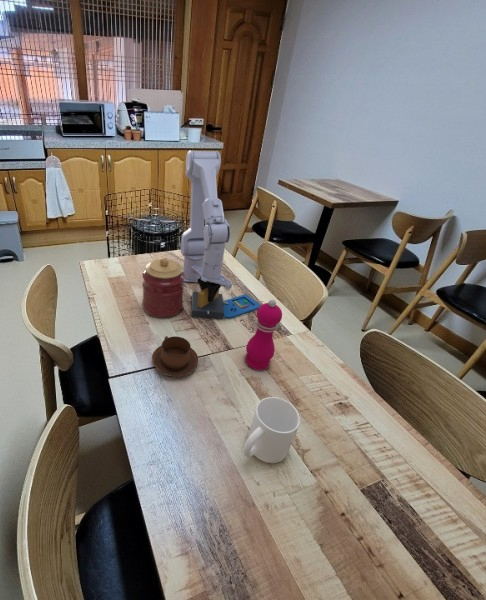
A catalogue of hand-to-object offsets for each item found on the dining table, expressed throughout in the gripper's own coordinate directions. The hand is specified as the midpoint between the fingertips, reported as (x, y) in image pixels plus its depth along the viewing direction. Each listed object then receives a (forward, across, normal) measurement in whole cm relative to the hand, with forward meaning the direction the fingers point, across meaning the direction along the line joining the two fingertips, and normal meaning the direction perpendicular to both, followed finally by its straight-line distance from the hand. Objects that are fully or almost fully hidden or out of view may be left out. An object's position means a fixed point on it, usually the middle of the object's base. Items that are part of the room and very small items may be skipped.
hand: (208, 299), depth 109 cm
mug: (+4, +40, -32) cm, 51 cm away
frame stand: (+3, 0, 0) cm, 3 cm away
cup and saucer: (+4, +10, -26) cm, 28 cm away
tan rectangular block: (+1, 0, 0) cm, 1 cm away
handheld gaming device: (+4, +6, +8) cm, 11 cm away
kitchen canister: (+4, -10, -10) cm, 15 cm away
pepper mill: (+4, +25, -10) cm, 27 cm away
